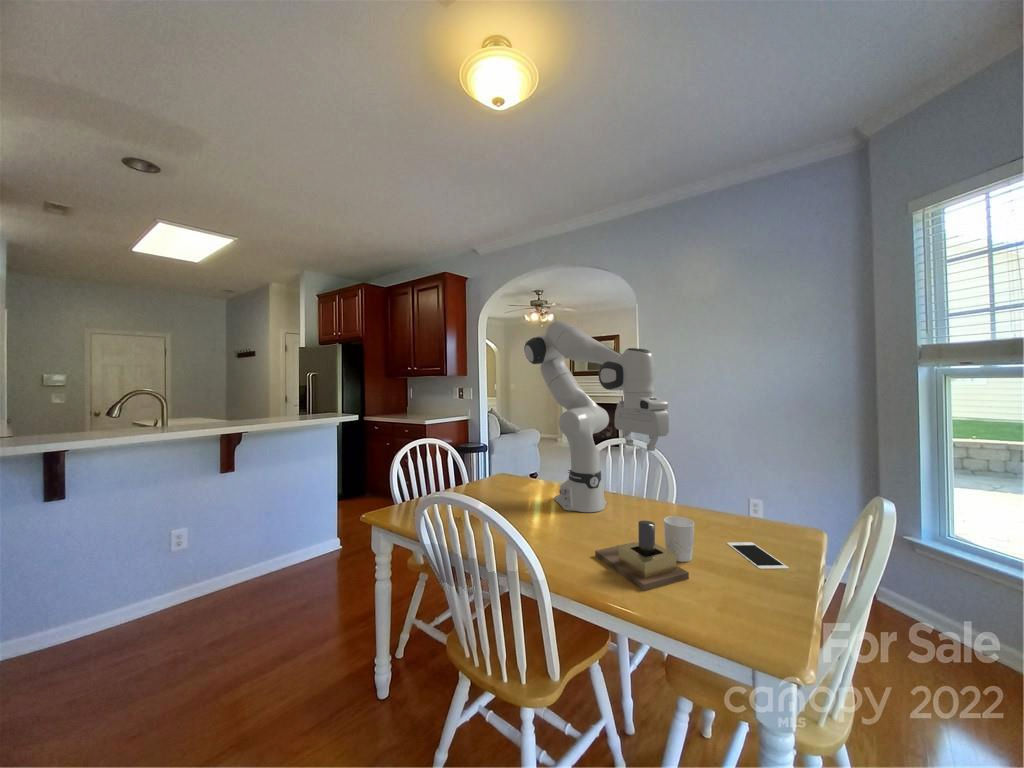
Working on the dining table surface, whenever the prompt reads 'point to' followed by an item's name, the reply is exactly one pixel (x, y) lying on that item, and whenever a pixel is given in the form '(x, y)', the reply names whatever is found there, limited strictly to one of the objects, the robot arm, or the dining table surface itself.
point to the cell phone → (757, 556)
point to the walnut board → (612, 559)
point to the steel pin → (646, 538)
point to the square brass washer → (647, 560)
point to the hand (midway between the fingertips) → (639, 447)
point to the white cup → (679, 537)
